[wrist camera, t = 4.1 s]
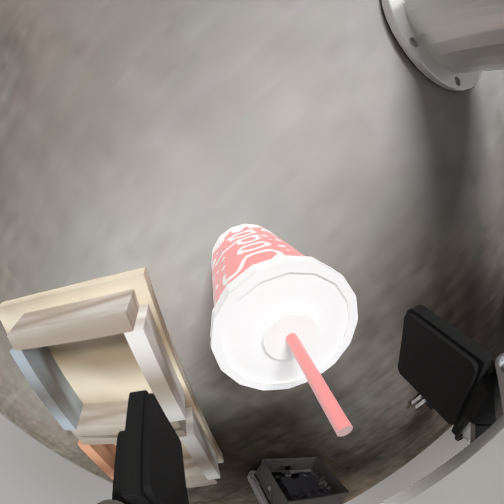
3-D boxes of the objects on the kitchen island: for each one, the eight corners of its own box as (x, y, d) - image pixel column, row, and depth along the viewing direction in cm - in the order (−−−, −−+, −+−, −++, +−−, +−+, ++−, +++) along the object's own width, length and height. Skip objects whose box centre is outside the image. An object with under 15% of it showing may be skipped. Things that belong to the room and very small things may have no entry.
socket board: (2, 302, 17) (-24, 329, 13) (145, 266, 18) (136, 296, 14) (113, 465, 24) (111, 494, 20) (222, 453, 26) (228, 484, 22)
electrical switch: (244, 473, 28) (264, 533, 20) (258, 448, 28) (285, 513, 19) (309, 470, 31) (336, 520, 22) (326, 446, 31) (360, 498, 22)
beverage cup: (289, 207, 19) (459, 312, 6) (291, 292, 21) (403, 447, 8) (193, 217, 18) (214, 378, 5) (205, 305, 20) (242, 499, 7)
